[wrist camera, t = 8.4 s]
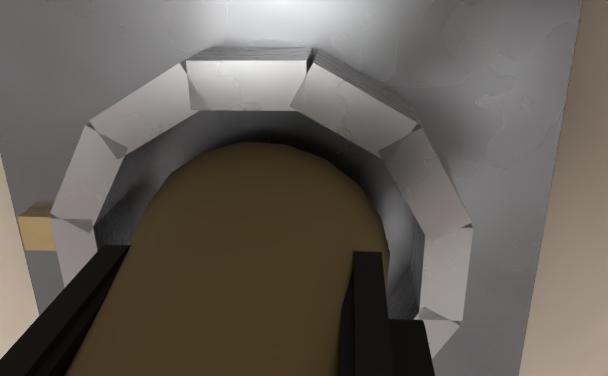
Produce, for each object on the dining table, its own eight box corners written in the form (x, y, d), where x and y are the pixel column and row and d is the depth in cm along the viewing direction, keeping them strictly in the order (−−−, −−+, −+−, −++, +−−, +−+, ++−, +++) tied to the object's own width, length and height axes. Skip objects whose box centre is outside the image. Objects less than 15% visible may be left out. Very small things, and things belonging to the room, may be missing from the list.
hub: (575, -65, 12) (644, -75, 9) (498, 417, 17) (526, 503, 14) (-21, -52, 13) (-122, -58, 10) (79, 395, 18) (30, 472, 16)
